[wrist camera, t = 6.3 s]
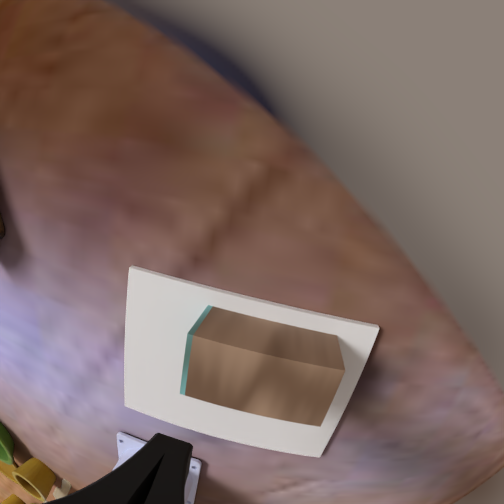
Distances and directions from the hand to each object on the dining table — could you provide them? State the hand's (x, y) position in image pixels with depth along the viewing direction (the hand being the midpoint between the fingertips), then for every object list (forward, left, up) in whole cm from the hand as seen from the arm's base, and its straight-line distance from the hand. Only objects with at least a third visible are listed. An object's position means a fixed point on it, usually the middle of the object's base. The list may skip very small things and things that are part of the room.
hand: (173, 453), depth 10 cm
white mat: (-3, -1, -10) cm, 11 cm away
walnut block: (0, +2, -8) cm, 8 cm away
